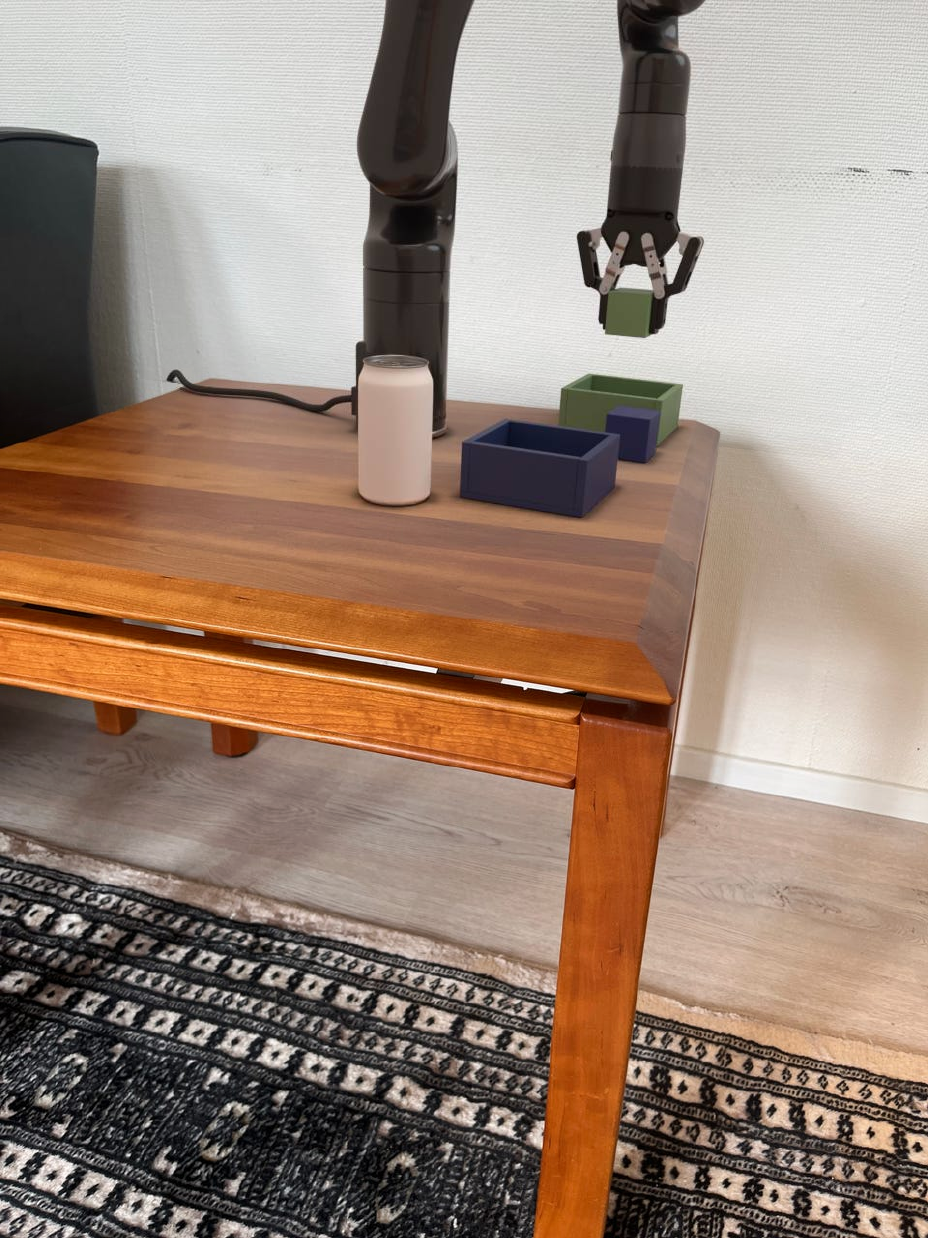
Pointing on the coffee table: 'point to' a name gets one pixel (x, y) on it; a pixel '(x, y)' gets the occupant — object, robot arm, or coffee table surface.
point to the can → (395, 429)
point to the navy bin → (539, 466)
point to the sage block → (629, 312)
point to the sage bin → (618, 401)
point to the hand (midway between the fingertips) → (630, 330)
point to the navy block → (634, 432)
